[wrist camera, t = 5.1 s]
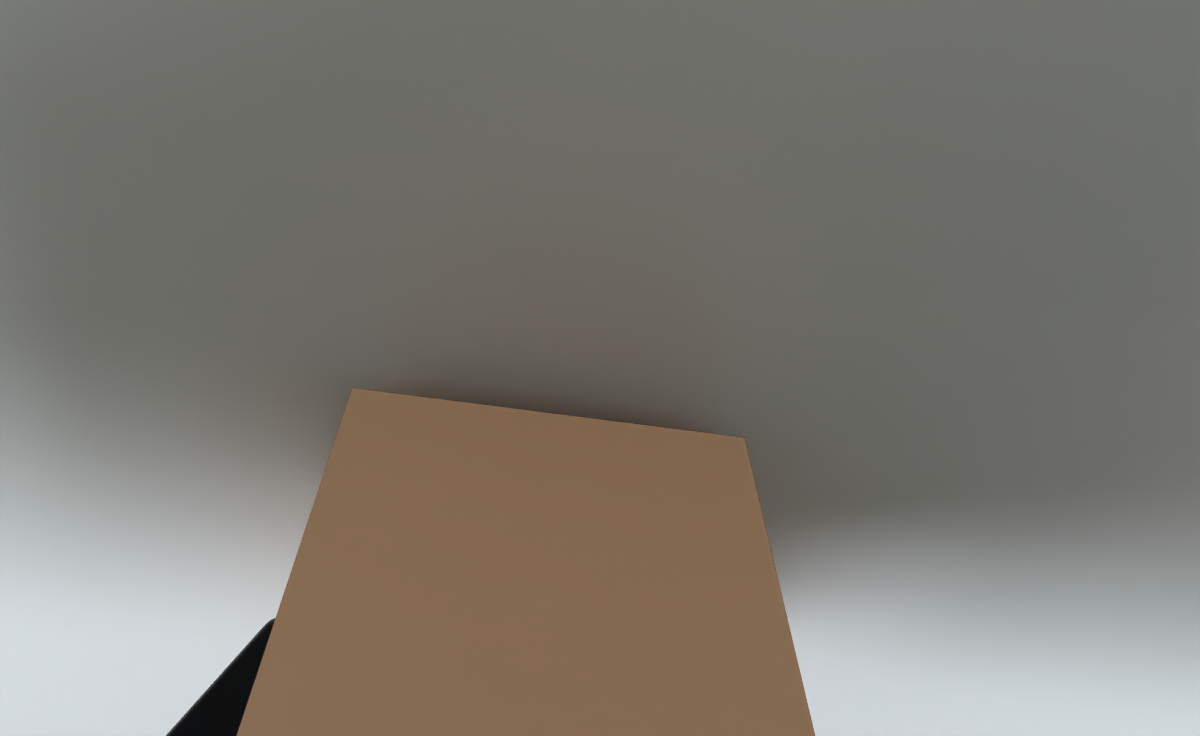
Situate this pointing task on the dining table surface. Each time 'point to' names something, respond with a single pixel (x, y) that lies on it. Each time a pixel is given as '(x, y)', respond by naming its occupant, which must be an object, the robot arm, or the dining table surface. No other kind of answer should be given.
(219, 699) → the robot arm
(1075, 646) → the dining table surface
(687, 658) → the toy hammer
